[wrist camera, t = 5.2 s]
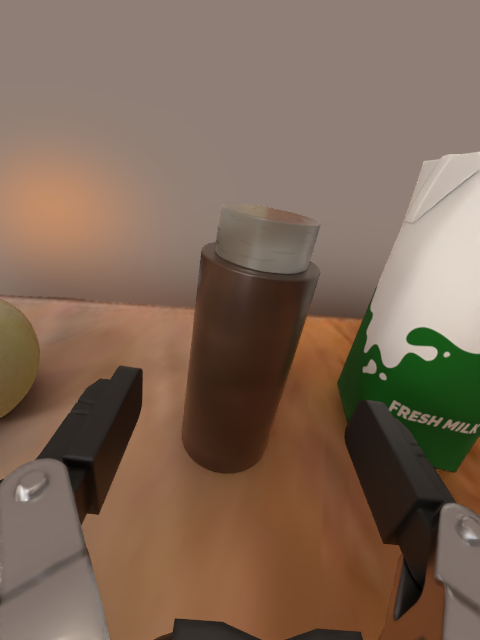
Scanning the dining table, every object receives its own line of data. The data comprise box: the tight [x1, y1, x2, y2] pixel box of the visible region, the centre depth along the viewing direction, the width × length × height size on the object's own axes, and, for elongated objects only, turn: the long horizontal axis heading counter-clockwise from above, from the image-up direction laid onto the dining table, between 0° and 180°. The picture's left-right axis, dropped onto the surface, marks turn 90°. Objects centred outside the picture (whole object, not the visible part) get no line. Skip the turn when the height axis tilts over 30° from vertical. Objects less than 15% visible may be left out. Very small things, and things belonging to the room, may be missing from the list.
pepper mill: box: [182, 203, 320, 473], centre depth 16 cm, size 6×6×14 cm
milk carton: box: [338, 152, 480, 472], centre depth 18 cm, size 9×9×20 cm
